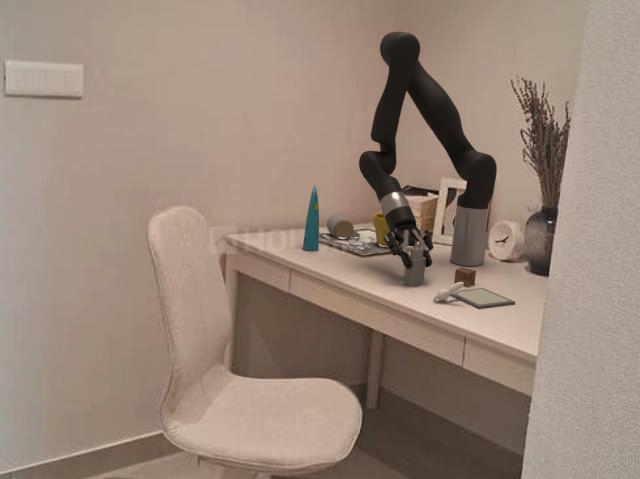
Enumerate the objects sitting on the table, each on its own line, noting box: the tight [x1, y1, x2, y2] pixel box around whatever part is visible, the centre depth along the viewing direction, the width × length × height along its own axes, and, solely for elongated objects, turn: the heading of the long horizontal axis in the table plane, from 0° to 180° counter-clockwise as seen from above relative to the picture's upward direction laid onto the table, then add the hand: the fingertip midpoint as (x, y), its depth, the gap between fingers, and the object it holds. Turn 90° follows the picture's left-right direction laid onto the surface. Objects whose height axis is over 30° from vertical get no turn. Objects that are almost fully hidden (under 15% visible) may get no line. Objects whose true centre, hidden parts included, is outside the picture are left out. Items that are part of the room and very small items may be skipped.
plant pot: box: [372, 212, 398, 246], centre depth 228 cm, size 10×10×10 cm
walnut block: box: [453, 266, 477, 288], centre depth 192 cm, size 4×4×4 cm
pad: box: [449, 287, 516, 310], centre depth 179 cm, size 12×12×1 cm
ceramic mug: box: [326, 212, 361, 239], centre depth 235 cm, size 11×8×8 cm
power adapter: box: [403, 239, 426, 288], centre depth 187 cm, size 3×5×12 cm, turn 134°
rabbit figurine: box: [432, 282, 464, 303], centre depth 175 cm, size 6×4×8 cm
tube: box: [302, 185, 320, 252], centre depth 215 cm, size 7×5×19 cm, turn 13°
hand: (419, 266), depth 186 cm, fingers closed on power adapter, 5 cm apart
